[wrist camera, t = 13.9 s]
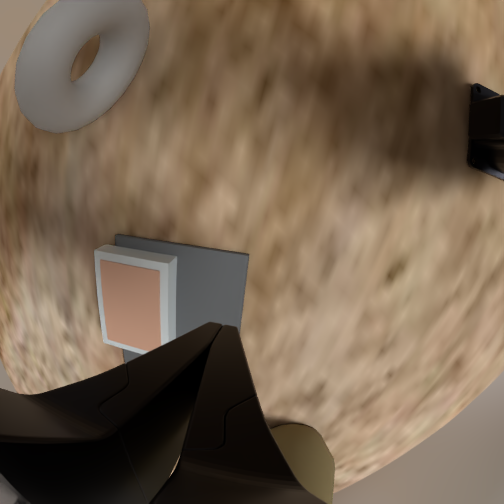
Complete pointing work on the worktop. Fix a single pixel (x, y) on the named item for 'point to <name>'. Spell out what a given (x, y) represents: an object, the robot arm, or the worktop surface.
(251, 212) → the worktop surface
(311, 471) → the squeeze bottle
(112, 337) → the tile
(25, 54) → the donut
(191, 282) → the mat
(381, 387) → the worktop surface
